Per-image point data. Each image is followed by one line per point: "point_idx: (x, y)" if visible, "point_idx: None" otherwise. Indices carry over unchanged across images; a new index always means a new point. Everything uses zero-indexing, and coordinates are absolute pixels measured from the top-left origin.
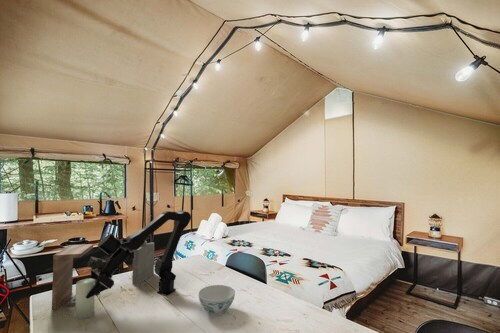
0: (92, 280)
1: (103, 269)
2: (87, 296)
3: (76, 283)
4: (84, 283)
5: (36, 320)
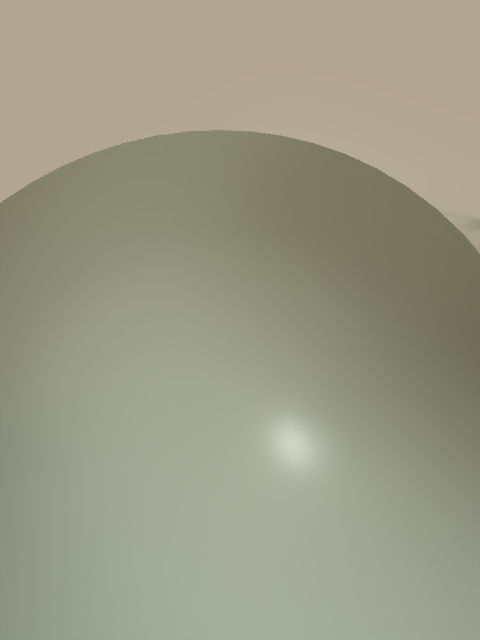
0: (6, 635)
1: None
2: None
3: (278, 140)
4: (50, 261)
5: (450, 221)
